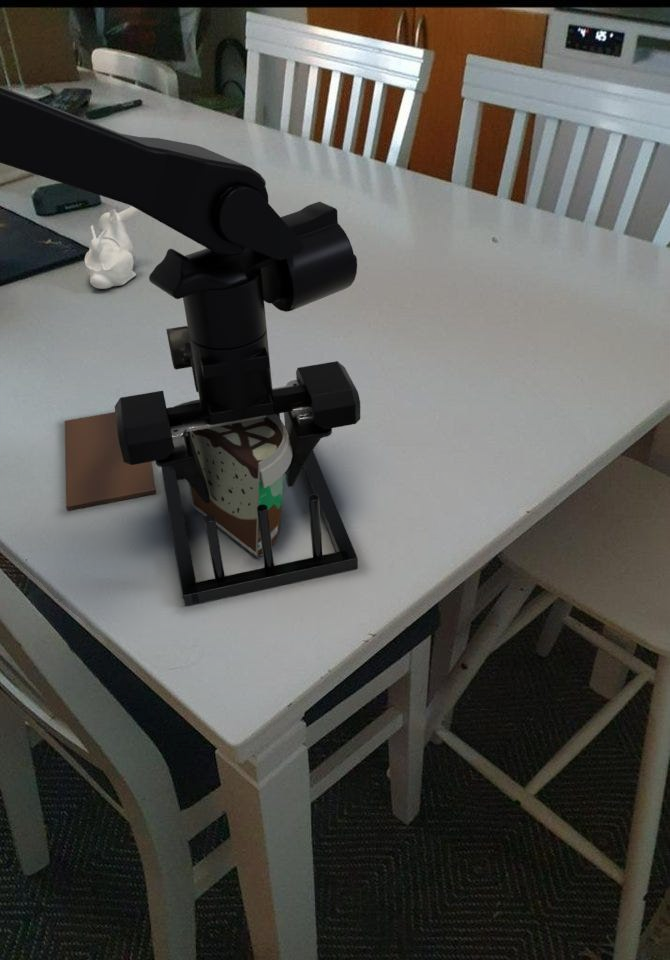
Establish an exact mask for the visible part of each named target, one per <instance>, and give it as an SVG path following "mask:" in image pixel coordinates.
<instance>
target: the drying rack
mask: <svg viewBox="0 0 670 960" xmlns="http://www.w3.org/2000/svg"><path fill="white" fill-rule="evenodd" d="M276 415H277V416H278V417H279V418H280V419H281V413H279V414H276ZM302 468H303V469H304V472H305V474H306V477H307V480H308V482H309V484H310V487H311V490H312V493H313V494H310V495H309V496H308V510H309V511H308V513H309V523H310V536H311V539H310V540H311V552H312V553H311V554H312V556H311V557H308V558H304V559H299V560H294V561H288V562H285V563H280V564H276V565H275V560H274V551H273V545H272V542H271V533H270V525H269V516H268V507H267V506H266V505H264V504H262V505H259V506H258V507H257V513H258V521H259V529H260V537H261V545H262V553H263V554H262V559H263V567H261V568H257V569H252V570H247V571H242V572H238V573H233V574H229V575H226V574H225V568H224V563H223V556H222V552H221V551H222V550H221V546H220V539H219V533H218V528H217V527H218V526H216V522H215V517H214V516H213V515H207V516H206V517H205V516H204V518H203V521H204V527H205V533H206V538H207V542H208V548H209V555H210V559H211V564H212V569H213V575H214V578H210V579H205V580H200V581H197V579H196V573H195V568H194V563H193V558H192V557H193V556H192V551H191V547H190V541H189V536H188V530H187V529H188V528H187V525H186V519H185V514H184V508H183V504H182V497H181V492H180V488H179V481H178V480H185V479H184V478H183V477H182V476H181V475H180V474H179V473H177V472H176V471H175V470H174V469H173V468H172V467H170V466H166V467H161V473H162V479H163V485H164V490H165V496H166V504H167V510H168V516H169V520H170V526H171V533H172V539H173V545H174V552H175V557H176V564H177V570H178V575H179V576H178V577H179V582H180V588H181V594H182V599H183V602H184V607H189V606H192V605H193V606H194V605H197V604H203V603H206V602H211V601H216V600H220V599H221V600H222V599H225V598H229V597H234V596H238V595H239V596H240V595H243V594H247V593H252V592H256V591H261V590H266V589H271V588H275V587H279V586H285V585H289V584H293V583H298V582H304V581H307V580H312V579H316V578H320V577H325V576H329V575H335V574H339V573H344V572H348V571H353V570H357V569H359V560H358V559H359V558H358V556H357V553H356V550H355V548H354V545H353V543H352V541H351V538H350V536H349V533H348V532H347V528H346V527H345V524H344V522H343V519H342V517H341V515H340V512H339V509H338V507H337V504H336V502H335V500H334V497H333V495H332V492H331V490H330V487H329V485H328V483H327V480H326V478H325V475H324V472H323V471H322V469H321V466H320V463H319V460H318V458H317V456H316V454H315V451H314V450H313V451H312V452H311V453H310V455H309V456H308V458H307V459H306V461H305V463H304V465H303V467H302ZM321 516H322V518H323V521H324V524H325V526H326V529H327V531H328V534H329V536H330V539H331V542H332V544H333V547H334V549H335V552H331V553H327V554H323V541H322V539H323V538H322V521H321Z"/></svg>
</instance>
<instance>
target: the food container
mask: <svg viewBox="0 0 670 960" xmlns="http://www.w3.org/2000/svg"><path fill="white" fill-rule="evenodd" d="M199 402H200V399H194V400H190V401H186V402H182V403H180V404H176V405H174V406H173V407H176V406H181V405H187V404H193V403H199ZM190 435H191V438H192V442H193V444H194V447H195V450H196V453H197V456H198V459H199V462H200V465H201V468H202V471H203V474H204V476H205V479H206V483H207V488H208V492H209V497H210V503H205V502H204V501H203V500H202V498H201V497H200V496H199V495H198V493H197V492H196V491H195V490H194V488H193V487H192V486H191V485H190V484H189V482H188V481H187V486H188V492H189V497H190V502H191V507H192V508H193V509H194V510H196V511H197V512H198V513H200V514H201V515H202V516H204V518H205V517H206V516H207V515H213V516H214V517H215V522H216V527H218V528H219V529H220V530H222V531H223V532H224V533H225V534H227V535H228V536H229V537H230V538H231V539H233V540H234V541H236V542H237V543H238V544H240V545H241V546H242V547H243V548H245V549H246V550H247V551H248V552H250V553H251V554H252V555H253V556H255V557H256V558H259V557H260V556H263V553H262V545H261V537H260V529H259V521H258V513H257V507H258V506H259V505H262V504H264V505H266V506H267V507H268V516H269V525H270V533H271V542H272V546H274V544H275V542H276V541H277V539H278V537H279V534H280V530H281V522H282V521H281V520H282V519H281V518H282V504H283V503H282V502H283V486H284V475H285V472H286V470H287V469H288V467H289V465H290V463H291V460H292V447H291V443H290V439H289V436H288V432H287V429H286V428H285V423H284V422H283V421H282V419H281V417H280V418H279V417H278V416H277V415H276V414H273V415H268V416H267V417H266V418H263V419H258V420H252V421H246V422H241V423H235V424H230V425H224V426H218V427H213V428H207V429H202V430H196V431H190Z"/></svg>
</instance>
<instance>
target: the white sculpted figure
mask: <svg viewBox="0 0 670 960" xmlns="http://www.w3.org/2000/svg"><path fill="white" fill-rule="evenodd" d="M143 214H144V213H143V212H142V211H140V210H138V209H136V208H134V207H133V206H130V207H128V208H126V209H124V210H122V211H120V212H117V210H116V209H115V208H112V209H110V210H109V212H104V213H103V214H102V215H101V216H100V218H99V220H98V231H99V232H101V233H100V234H99V235H98V237H97V235H96V232H95V226H94V225H91V226H90V232H91V235H92V238H91V241H90V245H89V248H88V249H89V250H88V251H87V252H86V253H85V256H84V266H85V268H86V272H87V274H88V277H89V283H90V285H91V286H92V287H94V288H95V289H99V290H107V289H110V288H112V287H119V286H124V285H125V284H126V283H128V282H130V280H131V279H133V278H135V277H136V276H137V273H136V272H135V271H134V270H133V269H134V262H135V261H134V256H133V243H132V240H131V238H130V236H129V234H128V232H127V225H126V222H125V221H128V220H133V219H135V218H139V217H141V216H142V215H143Z"/></svg>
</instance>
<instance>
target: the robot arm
mask: <svg viewBox="0 0 670 960" xmlns="http://www.w3.org/2000/svg"><path fill="white" fill-rule="evenodd" d="M0 164H3V165H5V166H8V167H12V168H15V169H18V170H21V171H24V172H27V173H29V174H33V175H36V176H40V177H41V178H42V177H43V178H45V179H48V180H52V181H54V182H57V183H61V184H64V185H66V186H70V187H72V188H76V189H79V190H81V191H85V192H88V193H92V194H94V195H97V196H101V197H103V198H106V199H110V200H113V201H116V202H119V203H122V204H125V205H129V206H130V207H132V206H133V207H134V208H136V209H138V210H140V211H142V212H143V213H142V214H145V215H147V216H148V217H150V218H153V219H154V220H155V221H158V222H159V223H161V224H163V225H165V226H167V227H168V228H170V229H172V230H173V231H175V232H177V233H179V234H181V235H182V236H185V237H186V238H188V239H190V240H192V241H194V242H195V243H197V244H198V245H201V247H204V249H200V250H198V251H194V252H192V253H189V254H186V255H184V254H182V253H181V252H179V251H177V250H176V249H173V248H168V249H167V251H166V254H165V256H164V258H163V259H162V261H160V262H159V263H158V264H157V265H155V267H154V268H153V270H152V272H151V273H150V274H149V276H148V280H149V282H150V283H151V284H153V285H155V286H156V287H157V288H159V289H160V290H161V291H163V292H164V293H166V294H168V295H169V296H170V297H172V298H174V299H175V300H180V299H182V301H183V306H184V307H183V308H184V313H185V318H186V325H184V326H183V325H182V326H177V327H170V328H166V335H167V343H168V347H169V352H170V356H171V362H172V366H173V369H174V370H181V369H187V368H188V369H189V368H191V372H192V377H193V382H194V387H195V392H196V393H198V398H199V399H200V402H199V403H193V404H187V405H181V406H176V405H175V406H176V407H174V406H170V407H167V404H166V398H165V393H164V390H158V391H157V390H156V391H152V392H146V393H140V394H134V395H128V396H121V397H120V398H119V399H118V401H117V402H116V403H115V405H114V412H115V415H116V424H117V434H118V439H119V445H120V449H121V453H122V457H123V461H124V462H125V463H128V464H130V465H135V464H140V463H146V462H155V465H156V466H157V467H159V468H162V467H166V466H170V467H172V468H173V469H174V470H175V471H176V472H177V473H179V474H180V475H181V476H182V477H183V478H184V479H183V480H185V481H186V482H187V483H188V482H189V484H190V485H191V486H192V487H193V488H194V490H195V491H196V492H197V493H198V495H199V496H200V497H201V498H202V500H203V501H204V502H205V503H210V497H209V492H208V488H207V483H206V479H205V476H204V474H203V471H202V468H201V465H200V462H199V459H198V456H197V453H196V450H195V447H194V444H193V442H192V438H191V435H190V431H196V430H202V429H207V428H213V427H218V426H224V425H230V424H235V423H241V422H246V421H252V420H258V419H263V418H266V417H267V416H268V415H273V414H279V413H280V414H283V419H284V426H285V428H286V429H287V432H288V436H289V439H290V443H291V447H292V460H291V463H290V465H289V467H288V469H287V470H286V472H285V473H284V478H285V483H286V485H287V487H288V488H293V486H294V484H295V483H296V481H297V479H298V477H299V475H300V473H301V471H302V469H303V468H304V467H303V465H304V463H305V461H306V459H307V458H308V456H309V455H310V453H311V452H312V451H314V450H315V448H316V447H317V445H318V444H319V442H320V441H321V440H322V439H323V438H327V437H329V436H331V435H332V433H333V429H336V428H340V427H341V428H342V427H347V426H352V425H357V423H358V422H359V421H360V420H361V399H360V394H359V391H358V389H357V387H356V386H355V384H354V382H353V380H352V378H351V376H350V375H349V373H348V371H347V369H346V367H345V366H344V365H343V364H342V363H340V362H339V361H338V360H335V361H330V362H324V363H319V364H311V365H307V366H300V367H297V368H296V371H295V376H296V377H295V378H296V379H293V380H289V381H288V382H287V383H286V384H285V385H284V386H279V387H273V381H272V379H273V378H272V369H271V360H270V351H269V350H270V349H269V338H268V328H267V327H268V326H267V317H266V306H265V303H267V304H271V305H272V306H274V307H275V308H276V309H278V310H279V311H281V312H285V313H287V312H293V311H294V310H296V309H299V308H302V307H304V306H306V305H309V304H311V303H314V302H317V301H319V300H321V299H324V298H326V297H329V296H331V295H334V294H336V293H339V292H342V291H344V290H346V289H348V288H350V287H351V286H352V285H353V283H354V282H355V279H356V277H357V273H358V272H357V271H358V259H357V256H356V255H355V253H354V248H353V246H352V243H351V241H350V238H349V237H348V235H347V233H346V231H345V230H344V228H342V226H341V225H340V223H339V222H338V219H339V218H338V217H339V215H338V209H337V208H336V207H334V206H331V205H329V204H327V203H324V202H322V201H316V202H314V203H311V204H308V205H306V206H305V207H303V208H302V209H300V210H297V211H295V212H292V213H289V214H286V215H283V216H280V215H279V214H278V213H277V212H276V210H275V209H274V208H273V207H272V206H271V205H270V204H269V193H268V190H267V187H266V185H267V182H266V179H265V178H264V177H263V176H262V174H261V173H259V172H258V171H256V170H255V169H253V168H252V167H250V166H248V165H245V164H243V163H241V162H238V161H236V160H233V159H231V158H229V157H227V156H224V155H221V154H219V153H217V152H215V151H212V150H210V149H207V148H206V147H202V146H200V145H196V144H193V143H192V144H191V143H187V142H181V141H176V140H175V141H174V140H170V139H165V138H159V137H149V136H148V137H147V136H135V135H130V134H125V133H121V132H118V131H115V130H113V129H110V128H108V127H105V126H104V125H103V126H102V125H99V124H98V123H95V122H92V121H90V120H87V119H85V118H82V117H80V116H77V115H75V114H72V113H69V112H68V111H64V110H62V109H59V108H57V107H54V106H52V105H50V104H47V103H45V102H42V101H39V100H37V99H34V98H32V97H29V96H27V95H25V94H22V93H19V92H17V91H14V90H12V89H10V88H6V87H4V86H2V85H0ZM199 399H198V400H199Z"/></svg>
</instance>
